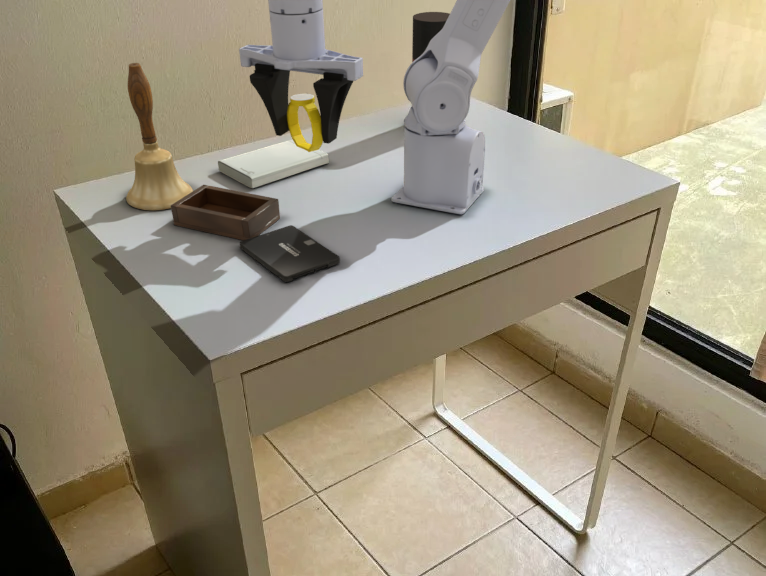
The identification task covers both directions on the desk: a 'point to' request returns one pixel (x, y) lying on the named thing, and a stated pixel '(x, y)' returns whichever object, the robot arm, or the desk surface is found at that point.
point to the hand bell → (151, 154)
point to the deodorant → (426, 30)
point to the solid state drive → (289, 253)
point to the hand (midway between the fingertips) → (305, 136)
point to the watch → (315, 120)
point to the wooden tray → (226, 212)
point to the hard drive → (271, 163)
